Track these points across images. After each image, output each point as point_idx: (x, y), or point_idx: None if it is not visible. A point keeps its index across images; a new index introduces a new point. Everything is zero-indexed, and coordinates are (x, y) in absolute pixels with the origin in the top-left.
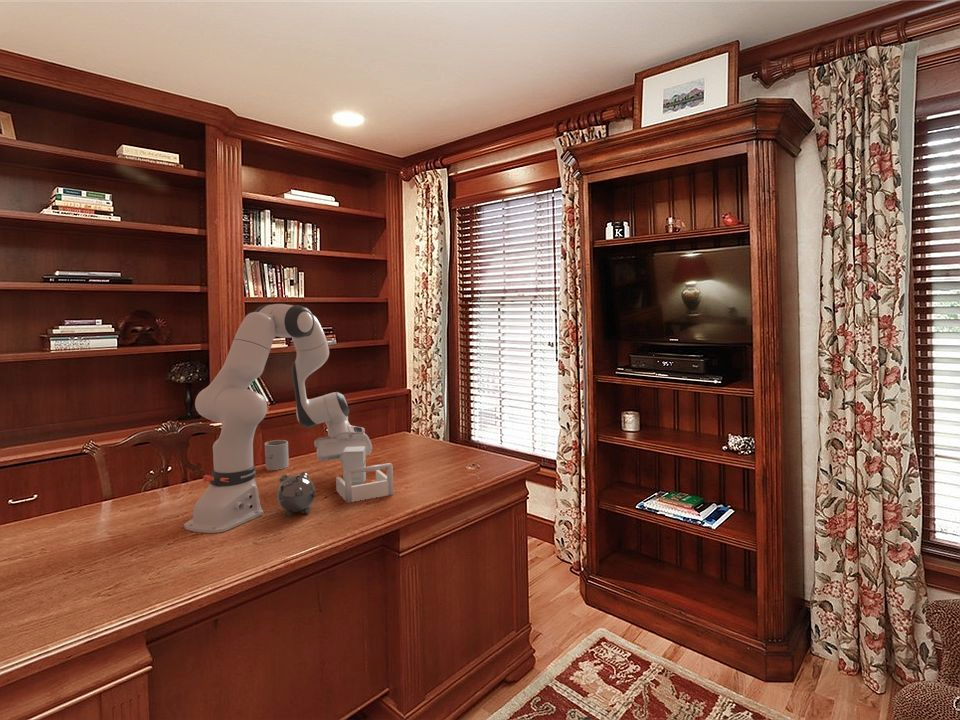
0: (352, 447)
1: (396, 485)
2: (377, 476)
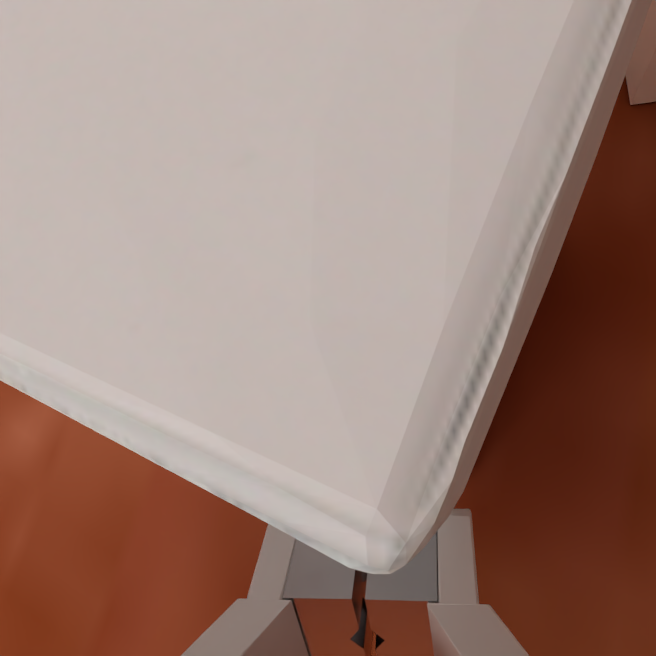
0: (31, 71)
1: None
2: None
